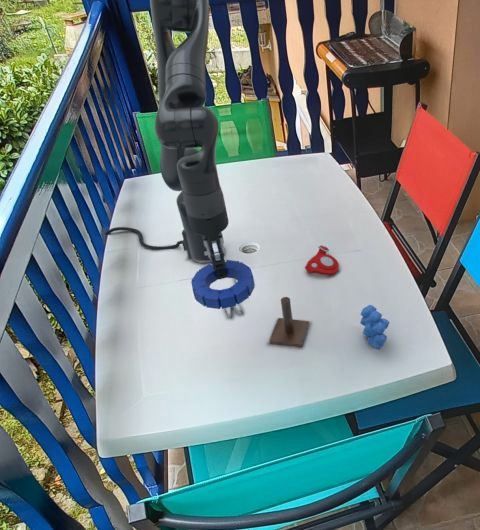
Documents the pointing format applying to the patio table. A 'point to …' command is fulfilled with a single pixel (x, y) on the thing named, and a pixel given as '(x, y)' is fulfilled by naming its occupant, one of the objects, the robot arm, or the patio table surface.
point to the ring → (224, 296)
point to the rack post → (288, 327)
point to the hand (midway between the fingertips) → (220, 272)
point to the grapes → (374, 326)
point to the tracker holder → (322, 263)
